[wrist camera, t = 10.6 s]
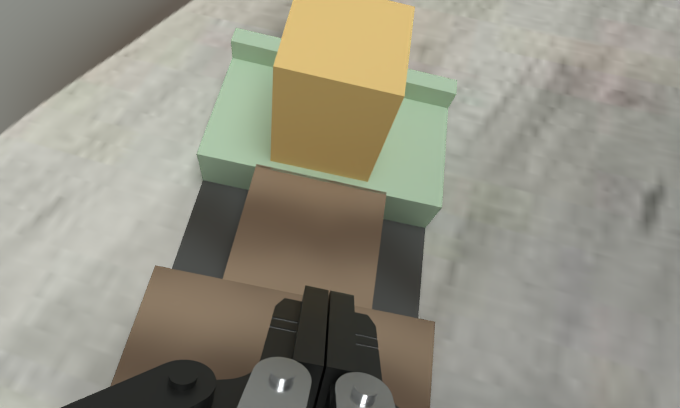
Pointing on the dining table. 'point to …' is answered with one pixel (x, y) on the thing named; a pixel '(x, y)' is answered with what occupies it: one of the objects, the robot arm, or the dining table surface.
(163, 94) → the dining table surface
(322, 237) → the board
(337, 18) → the block
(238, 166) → the pale green stepped block
